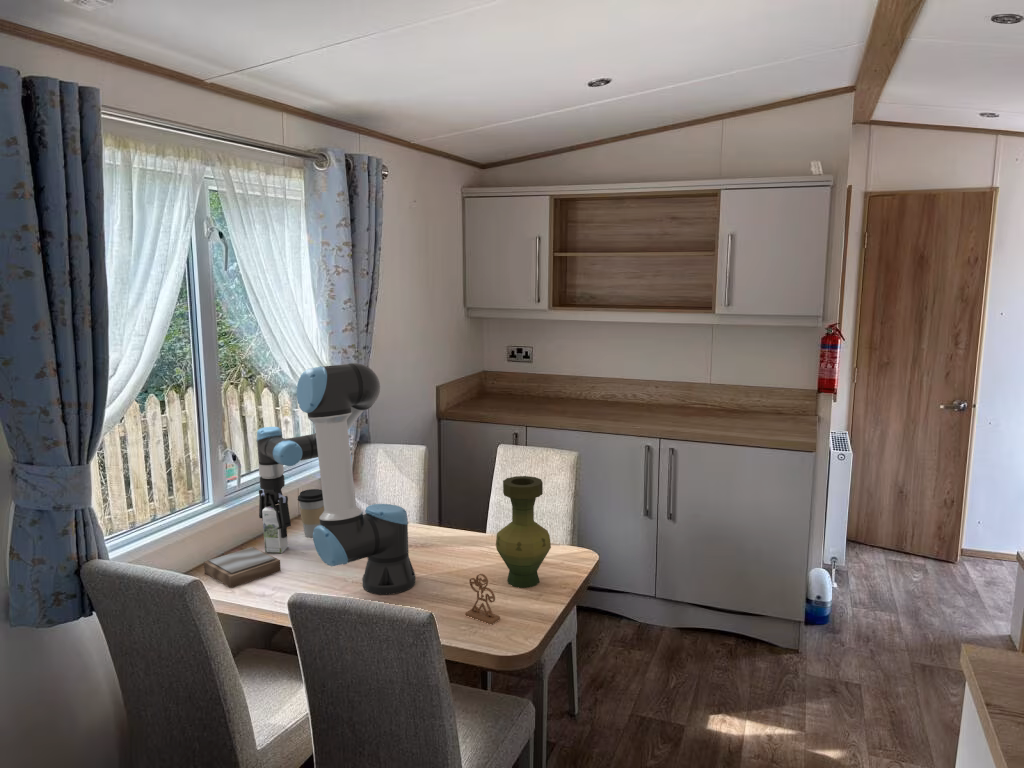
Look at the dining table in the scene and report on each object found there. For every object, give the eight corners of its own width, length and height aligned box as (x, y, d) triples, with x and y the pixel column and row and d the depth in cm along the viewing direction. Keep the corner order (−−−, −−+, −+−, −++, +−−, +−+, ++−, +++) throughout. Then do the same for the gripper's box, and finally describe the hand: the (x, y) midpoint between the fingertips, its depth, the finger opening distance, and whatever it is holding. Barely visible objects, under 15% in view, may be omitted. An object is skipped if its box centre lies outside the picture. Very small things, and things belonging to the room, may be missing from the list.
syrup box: (288, 546, 248) (286, 504, 246) (281, 553, 243) (278, 510, 240) (271, 546, 249) (269, 504, 247) (264, 553, 243) (261, 509, 241)
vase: (488, 574, 225) (486, 477, 221) (538, 566, 231) (537, 471, 226) (507, 597, 210) (506, 493, 205) (560, 587, 216) (560, 486, 211)
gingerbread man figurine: (500, 619, 198) (500, 575, 196) (491, 625, 194) (490, 580, 192) (473, 610, 203) (473, 567, 201) (464, 615, 200) (463, 572, 198)
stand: (280, 570, 229) (279, 558, 229) (230, 587, 218) (229, 574, 217) (253, 557, 240) (252, 545, 239) (204, 572, 228) (203, 560, 228)
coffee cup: (299, 531, 263) (296, 489, 260) (327, 528, 265) (325, 487, 263) (300, 541, 254) (297, 497, 251) (329, 537, 256) (326, 495, 254)
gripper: (300, 478, 238) (304, 548, 241) (265, 467, 251) (270, 533, 255) (278, 484, 232) (283, 554, 236) (244, 472, 246) (249, 539, 250)
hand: (276, 543), depth 245 cm, fingers closed on syrup box, 8 cm apart
